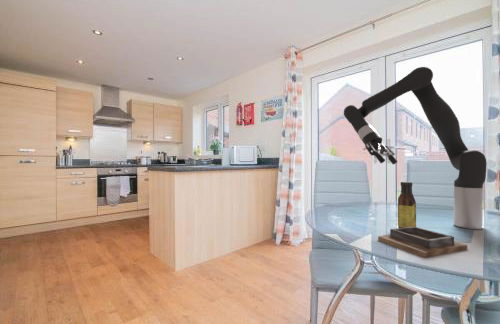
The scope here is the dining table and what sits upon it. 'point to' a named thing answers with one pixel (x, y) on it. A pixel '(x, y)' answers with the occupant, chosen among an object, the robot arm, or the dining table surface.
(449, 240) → the walnut dock board
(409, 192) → the sauce bottle
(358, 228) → the dining table surface
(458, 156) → the robot arm
